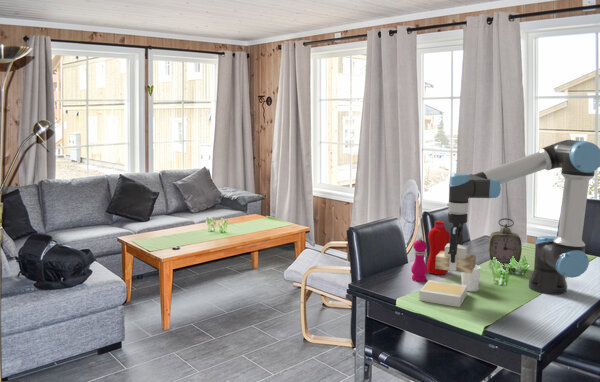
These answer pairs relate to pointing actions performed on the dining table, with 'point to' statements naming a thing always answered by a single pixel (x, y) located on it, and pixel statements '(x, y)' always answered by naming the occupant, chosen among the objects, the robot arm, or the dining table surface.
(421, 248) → the pepper mill
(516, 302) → the dining table surface
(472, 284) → the white cup
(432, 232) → the water bottle
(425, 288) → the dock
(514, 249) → the tabletop clock
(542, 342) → the dining table surface
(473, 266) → the pallet
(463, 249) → the white block
